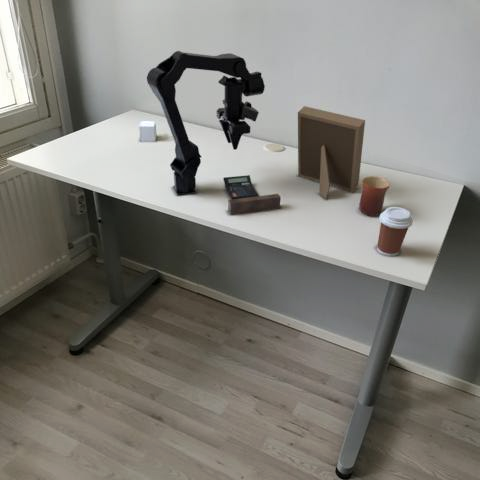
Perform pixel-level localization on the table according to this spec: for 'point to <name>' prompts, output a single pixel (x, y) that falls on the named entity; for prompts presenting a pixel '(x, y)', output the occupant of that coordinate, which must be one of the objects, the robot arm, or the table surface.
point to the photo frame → (329, 149)
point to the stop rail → (254, 204)
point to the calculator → (239, 187)
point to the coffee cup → (393, 230)
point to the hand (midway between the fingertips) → (232, 146)
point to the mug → (373, 195)
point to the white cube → (147, 131)
